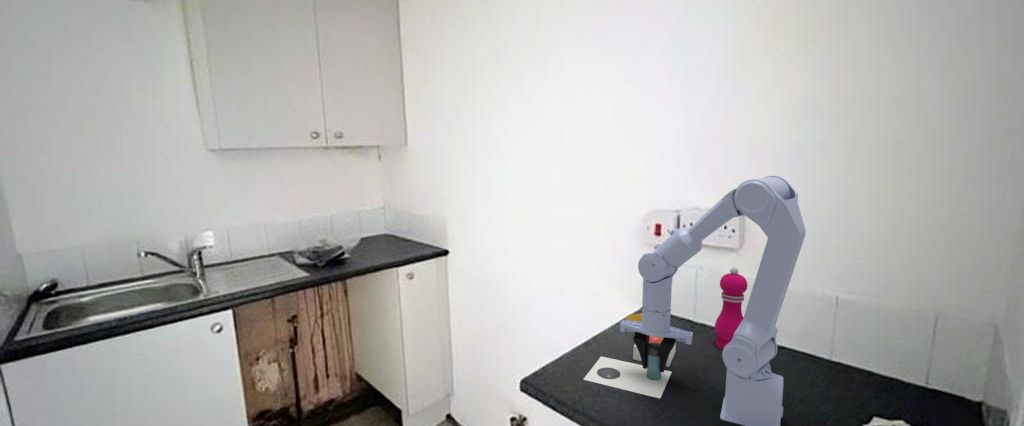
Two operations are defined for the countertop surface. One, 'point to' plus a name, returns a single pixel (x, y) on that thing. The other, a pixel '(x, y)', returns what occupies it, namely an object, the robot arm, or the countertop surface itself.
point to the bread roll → (634, 317)
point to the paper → (627, 377)
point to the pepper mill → (730, 307)
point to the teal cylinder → (653, 361)
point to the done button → (655, 340)
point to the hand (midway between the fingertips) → (654, 368)
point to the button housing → (637, 356)
